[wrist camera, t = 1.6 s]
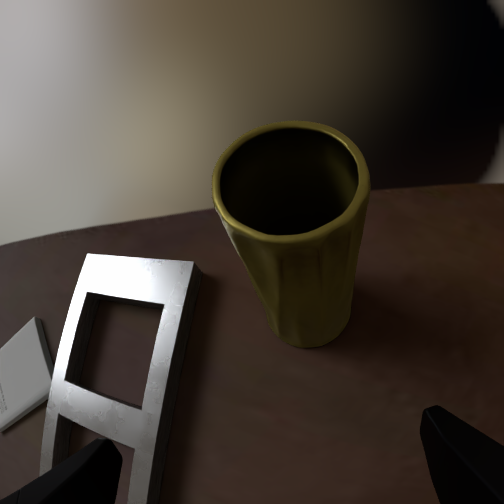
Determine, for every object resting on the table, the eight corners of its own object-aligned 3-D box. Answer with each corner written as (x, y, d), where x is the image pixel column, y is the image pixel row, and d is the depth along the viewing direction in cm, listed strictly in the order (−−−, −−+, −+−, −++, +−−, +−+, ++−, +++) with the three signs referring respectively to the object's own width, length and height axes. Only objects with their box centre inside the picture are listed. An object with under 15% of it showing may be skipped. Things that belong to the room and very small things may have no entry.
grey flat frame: (202, 272, 25) (193, 261, 23) (150, 564, 14) (138, 572, 12) (99, 262, 28) (87, 253, 26) (52, 510, 17) (38, 512, 15)
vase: (287, 363, 21) (235, 295, 8) (252, 289, 24) (177, 154, 11) (365, 322, 21) (422, 200, 8) (325, 254, 24) (319, 94, 11)
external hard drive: (65, 390, 23) (4, 432, 22) (43, 320, 27) (-12, 370, 26) (53, 387, 22) (-6, 431, 20) (33, 315, 26) (-21, 367, 24)
